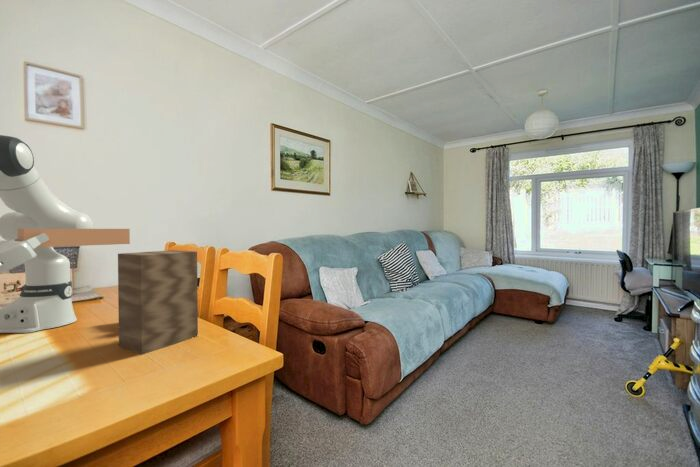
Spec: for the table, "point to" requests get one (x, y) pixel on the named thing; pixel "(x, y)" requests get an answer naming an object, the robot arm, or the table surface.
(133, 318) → the zigzag grain wooden block
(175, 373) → the table surface
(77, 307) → the table surface
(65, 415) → the table surface
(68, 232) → the rail
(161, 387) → the table surface
